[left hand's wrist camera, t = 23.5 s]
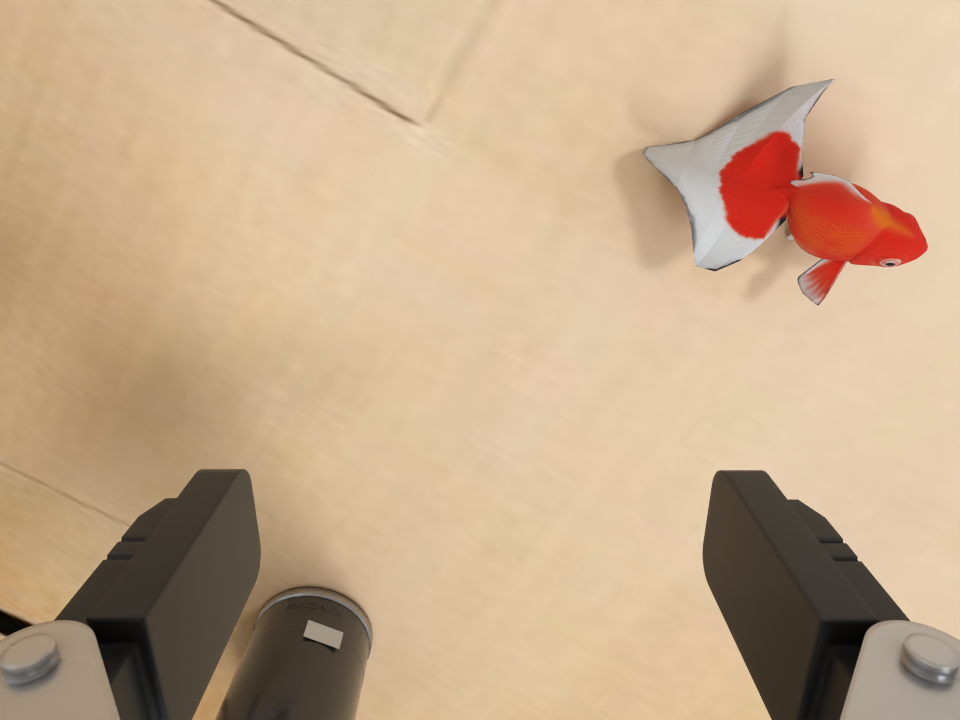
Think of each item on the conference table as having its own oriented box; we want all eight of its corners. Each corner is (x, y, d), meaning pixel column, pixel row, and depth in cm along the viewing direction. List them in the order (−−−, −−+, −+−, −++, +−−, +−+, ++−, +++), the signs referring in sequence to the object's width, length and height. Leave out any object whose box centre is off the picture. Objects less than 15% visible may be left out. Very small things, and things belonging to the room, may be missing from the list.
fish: (801, 377, 41) (874, 347, 31) (600, 227, 44) (609, 156, 34) (911, 245, 41) (1017, 174, 31) (704, 106, 44) (741, 2, 35)
